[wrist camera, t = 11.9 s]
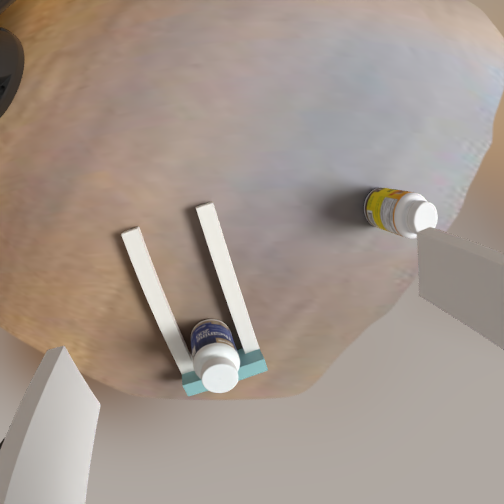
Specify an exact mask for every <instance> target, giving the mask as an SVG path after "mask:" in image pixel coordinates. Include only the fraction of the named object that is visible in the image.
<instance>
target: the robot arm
mask: <svg viewBox="0 0 504 504" xmlns="http://www.w3.org/2000/svg"><path fill="white" fill-rule="evenodd" d="M15 1H16V0H0V14H1V13H2V12H4V11H5V10H6V9H7V8H8V7H9V6H10V5H11V4H13V3H14V2H15ZM23 69H24V51H23V47H22V44H21V42H20V41H19V39H18V38H17V37H16V36H15V35H14V34H12V33H11V32H10V31H8V30H7V29H5V28H2V27H0V117H1V116H2V115H3V114H4V112H5V111H6V110H7V108H8V107H9V105H10V104H11V102H12V100H13V98H14V96H15V94H16V92H17V90H18V87H19V85H20V82H21V78H22V74H23ZM417 245H418V270H419V296H420V297H422V298H424V299H425V300H427V301H428V302H430V303H432V304H433V305H435V306H437V307H438V308H440V309H441V310H443V311H444V312H446V313H448V314H449V315H451V316H453V317H454V318H456V319H457V320H459V321H460V322H462V323H463V324H465V325H467V326H468V327H470V328H471V329H473V330H474V331H476V332H478V333H479V334H480V335H482V336H484V337H485V338H487V339H488V340H490V341H491V342H493V343H494V344H496V345H497V346H499V347H500V348H502V349H503V350H504V253H502V252H500V251H497V250H494V249H492V248H489V247H486V246H484V245H481V244H478V243H475V242H473V241H470V240H467V239H464V238H461V237H459V236H456V235H452V234H450V233H447V232H444V231H441V230H438V229H435V228H432V227H429V228H426V229H424V230H421V231H418V232H417ZM99 410H100V403H99V402H98V400H97V399H96V397H95V396H94V394H93V393H92V391H91V390H90V388H89V386H88V385H87V383H86V382H85V380H84V378H83V377H82V375H81V374H80V372H79V370H78V369H77V367H76V365H75V363H74V362H73V360H72V358H71V356H70V355H69V353H68V351H67V349H66V348H65V346H61V347H57V348H53V349H49V350H47V352H46V354H45V355H44V357H43V359H42V361H41V363H40V365H39V367H38V369H37V371H36V372H35V374H34V377H33V378H32V380H31V382H30V384H29V386H28V388H27V390H26V392H25V395H24V397H23V399H22V401H21V403H20V405H19V407H18V410H17V412H16V414H15V416H14V419H13V421H12V423H11V425H10V427H9V430H8V432H7V435H6V437H5V438H4V439H3V441H2V442H1V443H0V504H85V500H86V491H87V483H88V475H89V468H90V461H91V455H92V448H93V443H94V437H95V431H96V426H97V420H98V415H99Z"/></svg>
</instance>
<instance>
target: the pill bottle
mask: <svg viewBox="0 0 504 504" xmlns="http://www.w3.org/2000/svg"><path fill="white" fill-rule="evenodd" d="M191 349H192V359H193V367H194V371H195V373H196V374H197V376H198V377H199V378H200V379H201V380H202V384H203V386H204V387H205V388H206V389H207V390H209V391H211V392H214V393H223V392H227V391H229V390H231V389H232V388H234V387H235V385H236V384H237V382H238V370H239V368H240V358H239V355H238V352H237V349H236V346H235V343H234V340H233V337H232V334H231V332H230V329H229V328H228V326H227V325H226V324H225V323H223V322H222V321H219V320H216V319H207V320H204V321H201V322H199V323H198V324H197V325H196V326H195V327H194V328H193V330H192V333H191Z"/></svg>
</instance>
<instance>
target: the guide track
mask: <svg viewBox="0 0 504 504" xmlns="http://www.w3.org/2000/svg"><path fill="white" fill-rule="evenodd" d="M196 210H197V213H198V217H199V220H200V223H201V226H202V229H203V232H204V235H205V238H206V241H207V245H208V248H209V251H210V254H211V257H212V260H213V263H214V266H215V269H216V272H217V275H218V278H219V281H220V284H221V287H222V289H223V292H224V295H225V298H226V301H227V304H228V307H229V310H230V313H231V315H232V318H233V321H234V324H235V327H236V330H237V332H238V335H239V338H240V341H241V344H242V346H243V348H242V349H239V350H237V352H238V355H239V358H240V368H239V370H238V381H239V380H242V379H245V378H248V377H250V376H253V375H256V374H259V373H262V372H265V371H267V370H268V369H267V366H266V363H265V360H264V357H263V355H262V353H261V351H260V349H259V346H258V343H257V340H256V337H255V334H254V331H253V328H252V325H251V321H250V318H249V315H248V312H247V309H246V306H245V303H244V300H243V297H242V294H241V291H240V287H239V284H238V281H237V278H236V275H235V272H234V269H233V265H232V262H231V259H230V256H229V253H228V249H227V246H226V243H225V240H224V237H223V233H222V230H221V227H220V224H219V220H218V217H217V214H216V211H215V207H214V204H213V202H209V203H206V204H203V205H200V206H196ZM121 235H122V238H123V240H124V243H125V246H126V249H127V251H128V254H129V256H130V259H131V262H132V264H133V267H134V269H135V272H136V274H137V277H138V279H139V282H140V284H141V287H142V289H143V291H144V294H145V296H146V298H147V301H148V303H149V305H150V308H151V310H152V312H153V315H154V317H155V319H156V321H157V323H158V326H159V328H160V330H161V332H162V334H163V337H164V339H165V341H166V343H167V345H168V347H169V349H170V351H171V353H172V355H173V357H174V360H175V362H176V364H177V366H178V368H179V370H180V372H181V374H182V384H183V387H184V389H185V391H186V393H187V395H188V396H191V395H195V394H198V393H201V392H205V391H208V390H207V389H206V388H205V387H204V386H203V384H202V380H201V379H200V378H199V377H198V376H197V374H196V373H195V371H194V367H193V359H192V356H191V354H190V352H189V350H188V348H187V345H186V343H185V341H184V339H183V336H182V334H181V332H180V330H179V327H178V325H177V323H176V320H175V318H174V316H173V313H172V311H171V309H170V306H169V304H168V301H167V299H166V296H165V294H164V292H163V289H162V287H161V284H160V282H159V279H158V276H157V274H156V271H155V269H154V266H153V263H152V261H151V258H150V256H149V253H148V250H147V247H146V245H145V242H144V239H143V236H142V234H141V231H140V228H139V226H138V227H135V228H133V229H130V230H127V231H124V232H123V233H122V234H121Z"/></svg>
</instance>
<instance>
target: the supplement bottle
mask: <svg viewBox="0 0 504 504" xmlns="http://www.w3.org/2000/svg"><path fill="white" fill-rule="evenodd" d="M364 214H365V217H366V219H367V221H368V222H369V223H370V224H371V225H373V226H375V227H377V228H380V229H383V230H386V231H389V232H392V233H394V234H397V235H400V236H403V237H406V238H416V237H417V232H418V231H421V230H424V229H426V228H429V227H432V228H435V227H436V224H437V218H438V216H437V210H436V208H435V206H434V205H433V204H432V203H430V202H427V201H426V199H425V198H424V197H423V196H422V195H420V194H418V193H414V192H408V191H402V190H395V189H388V188H377V189H374V190H373V191H371V192H370V193H369V194H368V196H367V198H366V200H365V203H364Z"/></svg>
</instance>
